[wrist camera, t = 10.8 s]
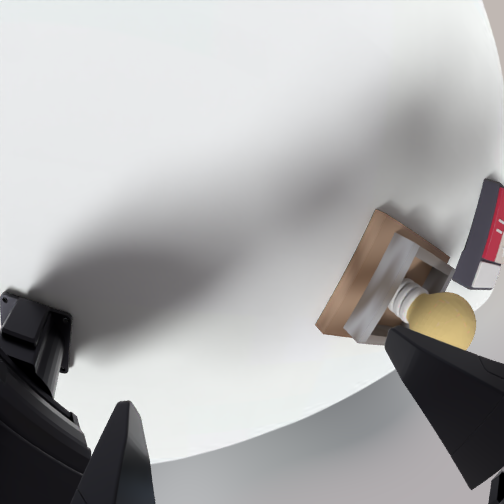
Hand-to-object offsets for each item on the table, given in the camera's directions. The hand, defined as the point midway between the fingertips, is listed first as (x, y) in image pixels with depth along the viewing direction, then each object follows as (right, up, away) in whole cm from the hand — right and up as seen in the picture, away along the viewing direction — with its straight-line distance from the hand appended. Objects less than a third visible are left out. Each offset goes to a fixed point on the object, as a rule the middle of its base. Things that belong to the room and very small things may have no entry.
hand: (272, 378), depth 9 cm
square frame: (+14, 0, +20) cm, 24 cm away
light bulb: (+14, 0, +19) cm, 23 cm away
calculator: (+33, +7, +25) cm, 42 cm away
